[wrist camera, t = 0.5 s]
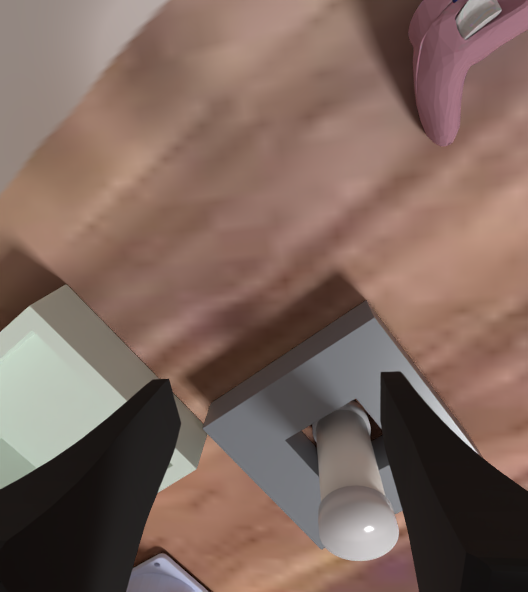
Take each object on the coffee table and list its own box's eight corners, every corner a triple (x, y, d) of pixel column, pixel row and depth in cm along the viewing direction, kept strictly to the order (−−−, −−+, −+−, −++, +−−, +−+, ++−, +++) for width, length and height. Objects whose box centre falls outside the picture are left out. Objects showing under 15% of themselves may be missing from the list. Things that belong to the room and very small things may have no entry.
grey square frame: (319, 516, 28) (321, 549, 26) (210, 403, 26) (202, 428, 23) (471, 439, 25) (489, 468, 23) (366, 300, 23) (374, 317, 20)
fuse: (333, 451, 26) (348, 571, 19) (300, 415, 26) (303, 525, 18) (379, 426, 25) (414, 541, 18) (347, 387, 25) (369, 491, 17)
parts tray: (82, 510, 30) (56, 554, 27) (-56, 392, 27) (-104, 426, 24) (208, 429, 26) (196, 468, 23) (66, 283, 24) (29, 305, 20)
